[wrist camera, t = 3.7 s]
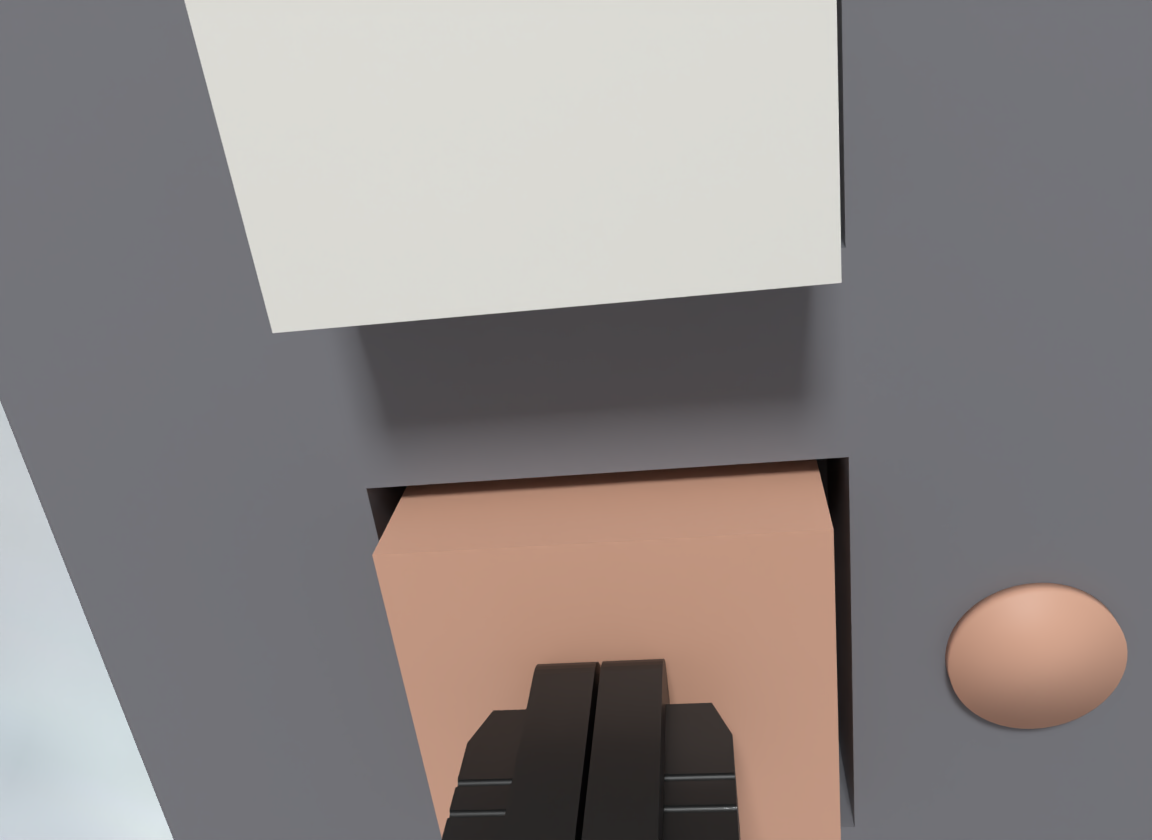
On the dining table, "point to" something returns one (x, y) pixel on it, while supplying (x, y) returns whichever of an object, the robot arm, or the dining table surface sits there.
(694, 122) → the key middle
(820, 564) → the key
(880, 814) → the keypad
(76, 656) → the dining table surface
